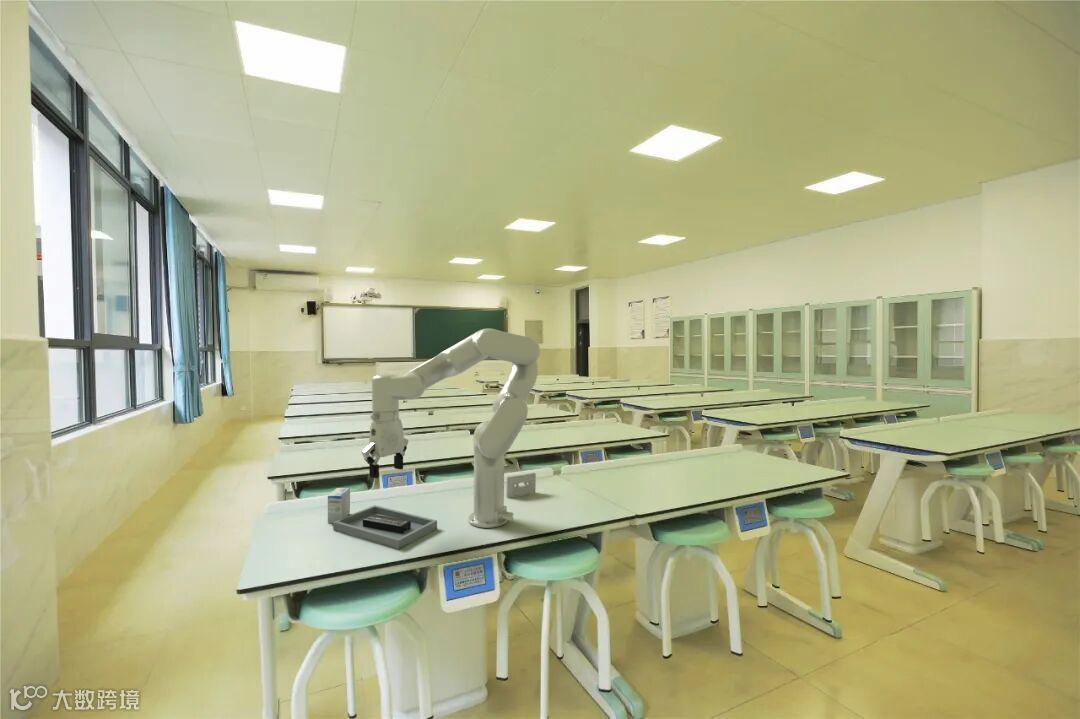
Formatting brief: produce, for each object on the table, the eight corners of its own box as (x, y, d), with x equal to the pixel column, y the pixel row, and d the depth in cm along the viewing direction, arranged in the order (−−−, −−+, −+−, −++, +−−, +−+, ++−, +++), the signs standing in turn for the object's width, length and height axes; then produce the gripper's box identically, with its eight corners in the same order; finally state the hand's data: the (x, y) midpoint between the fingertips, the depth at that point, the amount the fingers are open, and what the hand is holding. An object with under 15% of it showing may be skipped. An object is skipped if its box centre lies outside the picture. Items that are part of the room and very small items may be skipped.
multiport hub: (371, 521, 145) (371, 513, 145) (411, 528, 140) (411, 520, 140) (361, 526, 141) (361, 518, 141) (402, 534, 136) (402, 526, 136)
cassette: (507, 498, 169) (507, 477, 169) (505, 497, 171) (505, 476, 170) (536, 493, 175) (536, 473, 175) (533, 492, 177) (534, 472, 176)
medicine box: (336, 513, 152) (336, 487, 151) (350, 513, 152) (350, 487, 152) (327, 523, 144) (327, 495, 144) (342, 523, 144) (342, 495, 144)
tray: (437, 528, 141) (437, 520, 141) (398, 549, 127) (398, 540, 127) (374, 512, 153) (374, 505, 153) (333, 530, 139) (333, 521, 139)
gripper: (372, 422, 129) (373, 483, 130) (415, 412, 145) (416, 467, 145) (353, 419, 133) (354, 479, 134) (397, 411, 148) (398, 464, 149)
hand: (386, 473), depth 140 cm, fingers open, 9 cm apart
